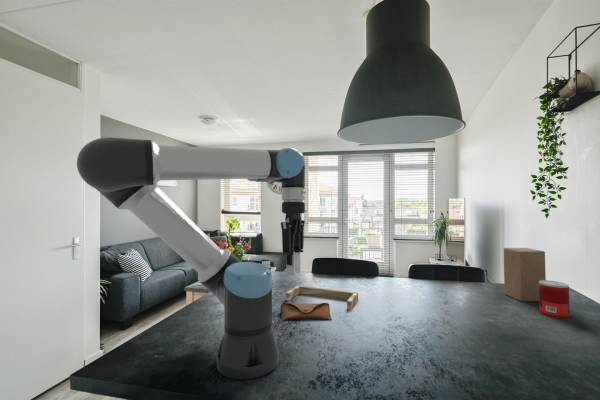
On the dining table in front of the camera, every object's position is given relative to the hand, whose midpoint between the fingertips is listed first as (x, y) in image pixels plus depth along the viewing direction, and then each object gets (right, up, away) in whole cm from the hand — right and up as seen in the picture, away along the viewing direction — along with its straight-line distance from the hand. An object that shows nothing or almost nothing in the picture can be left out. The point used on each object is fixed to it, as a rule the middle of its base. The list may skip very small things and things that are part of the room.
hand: (293, 273), depth 92 cm
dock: (+11, -17, +23) cm, 31 cm away
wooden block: (+95, -17, +26) cm, 100 cm away
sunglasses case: (+4, -17, +8) cm, 19 cm away
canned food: (+91, -17, +8) cm, 93 cm away
